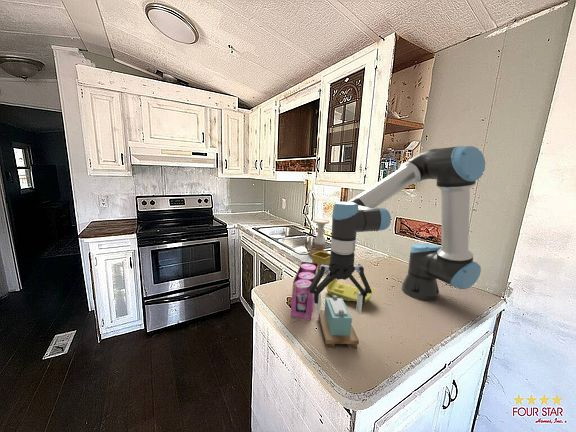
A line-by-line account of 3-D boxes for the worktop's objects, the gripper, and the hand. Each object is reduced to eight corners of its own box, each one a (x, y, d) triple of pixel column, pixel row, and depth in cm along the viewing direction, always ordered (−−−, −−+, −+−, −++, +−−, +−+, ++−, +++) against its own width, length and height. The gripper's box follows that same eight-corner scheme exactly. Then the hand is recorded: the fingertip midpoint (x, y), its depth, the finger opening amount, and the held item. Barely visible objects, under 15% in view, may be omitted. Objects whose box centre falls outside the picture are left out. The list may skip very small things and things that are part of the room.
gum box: (310, 322, 85) (313, 287, 83) (289, 319, 87) (290, 284, 84) (317, 291, 108) (318, 263, 106) (299, 289, 110) (301, 261, 107)
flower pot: (332, 269, 133) (333, 254, 131) (323, 274, 127) (324, 258, 125) (319, 265, 139) (320, 250, 137) (310, 269, 132) (311, 254, 131)
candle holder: (314, 260, 147) (316, 222, 142) (308, 254, 157) (309, 219, 153) (330, 259, 150) (333, 222, 146) (323, 253, 160) (325, 218, 156)
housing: (350, 335, 74) (352, 314, 73) (331, 335, 74) (333, 313, 73) (340, 313, 86) (342, 294, 85) (324, 313, 86) (325, 294, 85)
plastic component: (324, 289, 105) (334, 274, 112) (328, 300, 109) (338, 285, 115) (367, 303, 92) (376, 285, 98) (370, 315, 96) (379, 297, 102)
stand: (344, 318, 88) (345, 310, 88) (358, 349, 73) (358, 340, 72) (317, 317, 88) (318, 310, 88) (325, 348, 72) (326, 340, 72)
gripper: (376, 247, 79) (371, 305, 83) (302, 246, 79) (300, 305, 82) (386, 255, 72) (380, 318, 76) (304, 254, 71) (302, 318, 75)
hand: (338, 311), depth 79 cm, fingers open, 13 cm apart
